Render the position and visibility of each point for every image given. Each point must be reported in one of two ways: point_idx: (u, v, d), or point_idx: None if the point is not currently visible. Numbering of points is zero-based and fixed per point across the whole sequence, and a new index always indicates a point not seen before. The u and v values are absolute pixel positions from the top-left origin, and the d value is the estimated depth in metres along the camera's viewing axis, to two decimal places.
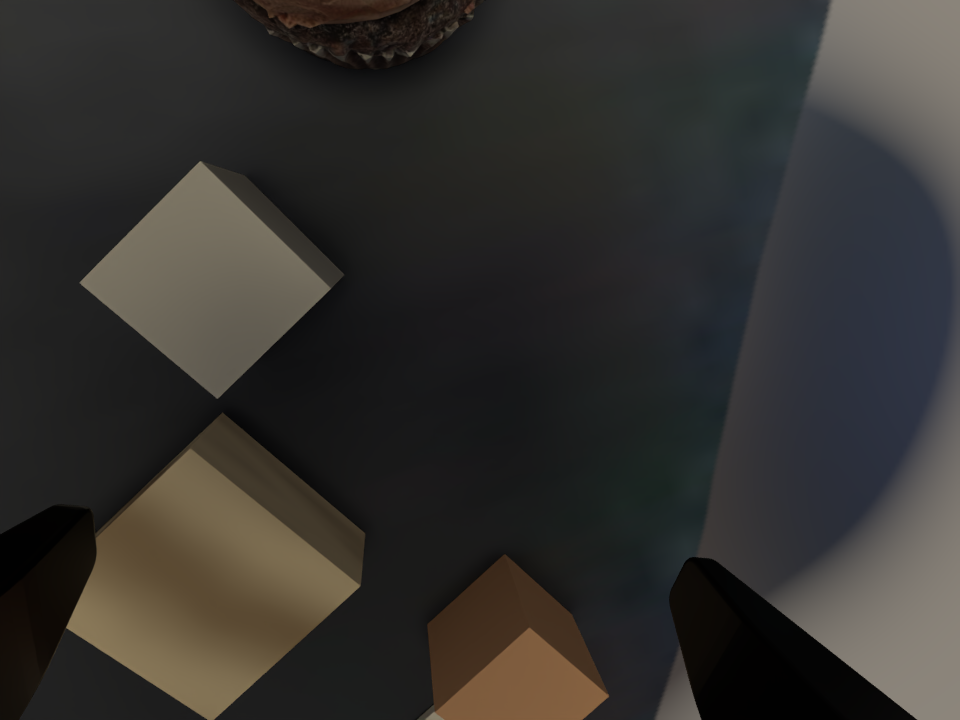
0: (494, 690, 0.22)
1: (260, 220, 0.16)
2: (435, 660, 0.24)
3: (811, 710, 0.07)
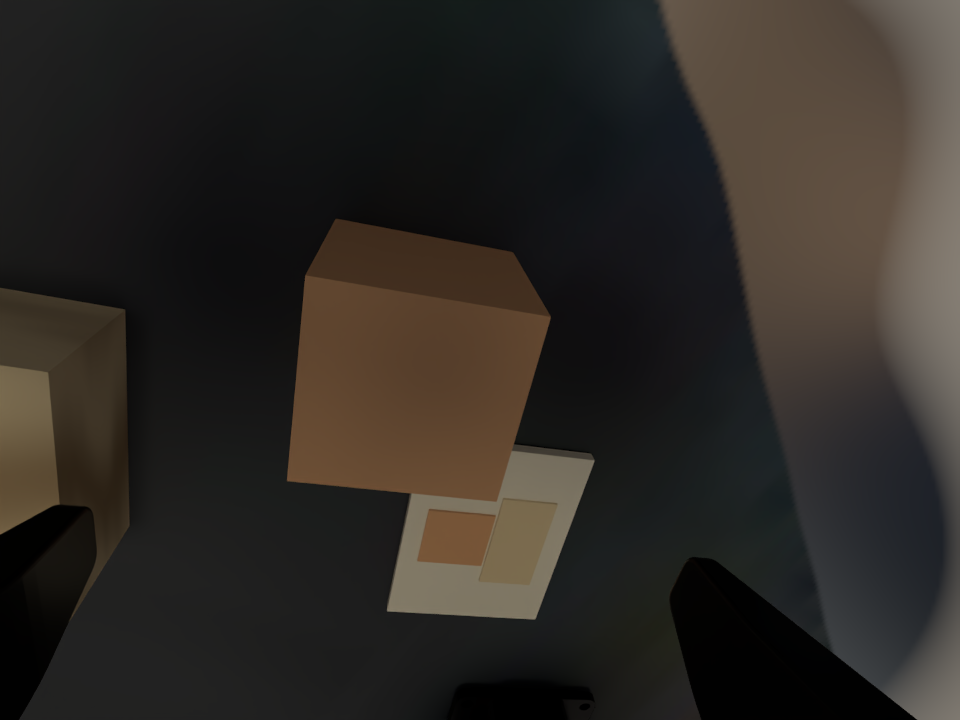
0: (346, 407, 0.12)
1: None
2: None
3: (811, 710, 0.07)
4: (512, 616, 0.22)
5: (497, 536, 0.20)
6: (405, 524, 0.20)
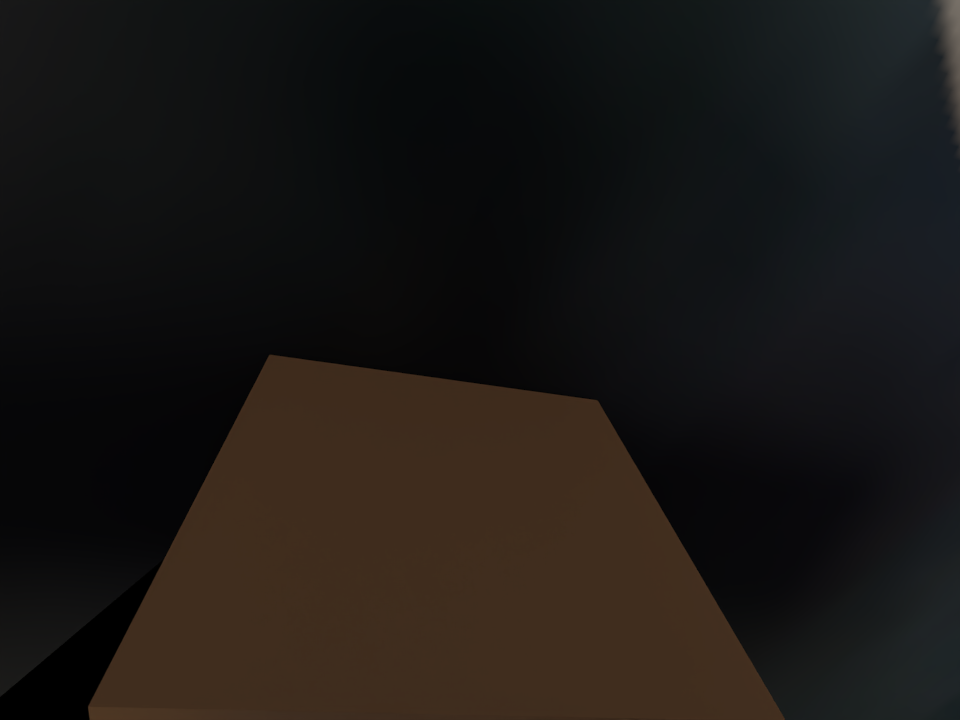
0: None
1: None
2: None
3: None
4: None
5: None
6: None
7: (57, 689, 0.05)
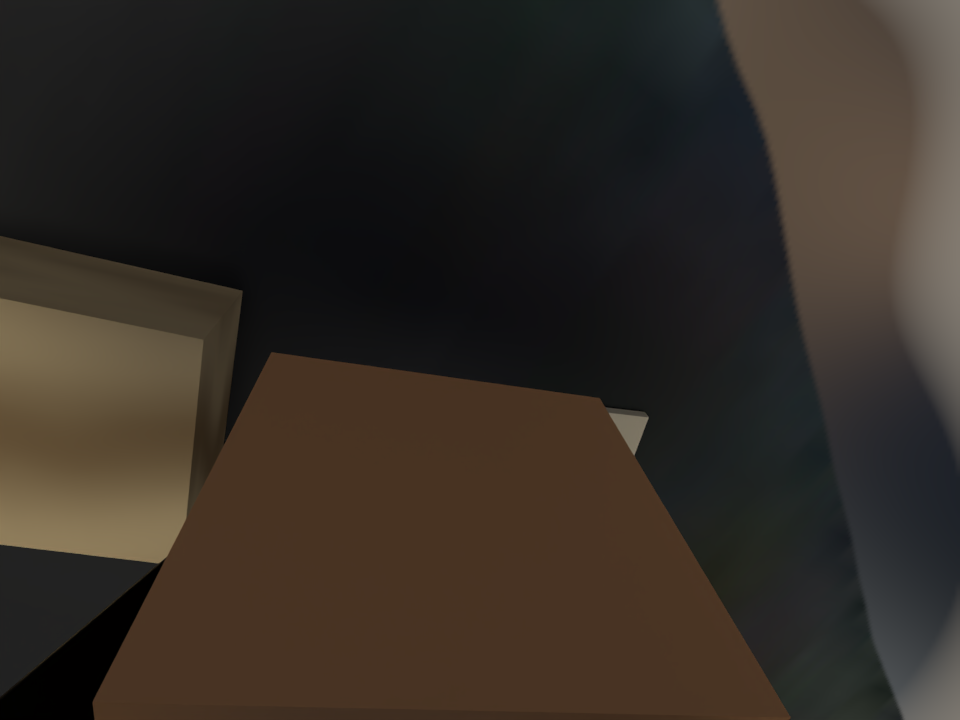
0: None
1: None
2: None
3: None
4: None
5: None
6: None
7: (57, 689, 0.05)
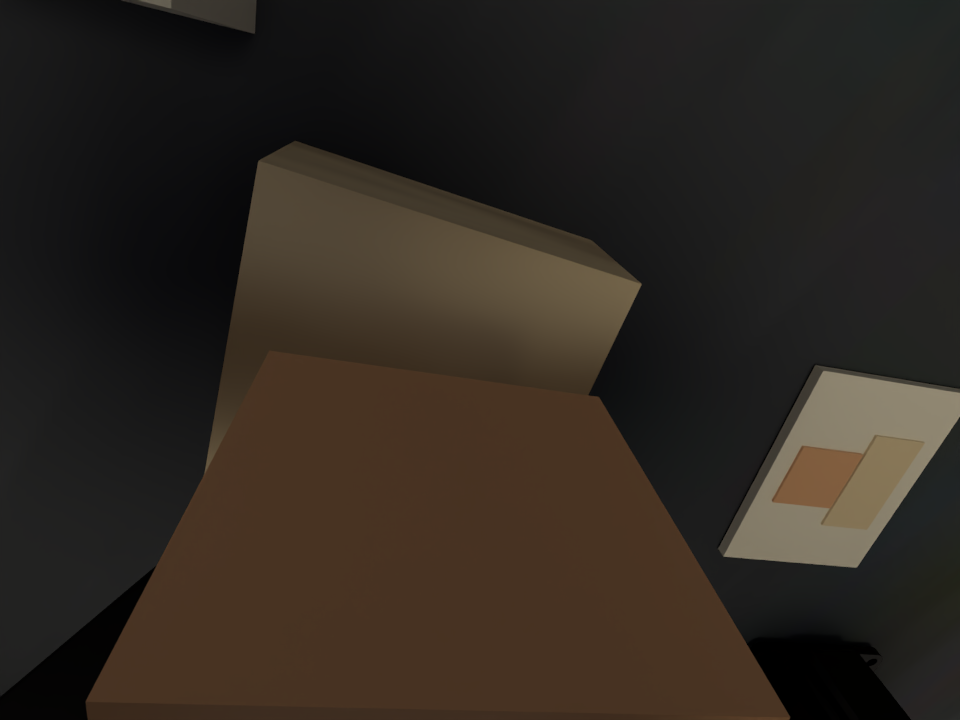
0: None
1: None
2: None
3: None
4: (836, 563, 0.22)
5: (856, 476, 0.20)
6: (772, 462, 0.19)
7: (58, 689, 0.05)
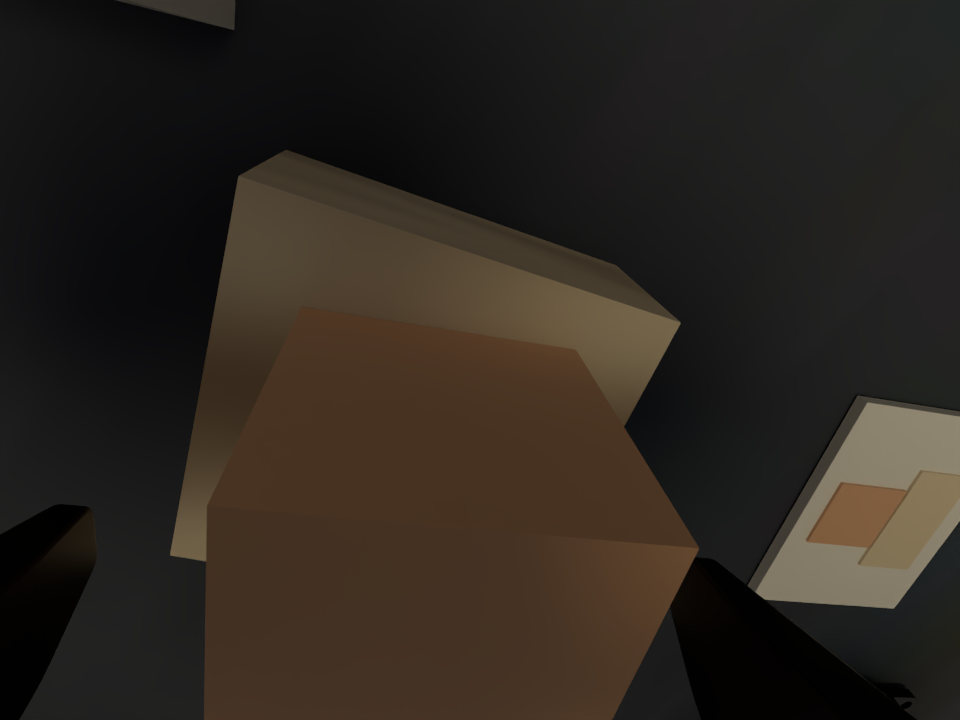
0: (306, 704, 0.06)
1: None
2: None
3: (811, 710, 0.07)
4: (872, 605, 0.20)
5: (898, 514, 0.18)
6: (808, 500, 0.18)
7: None
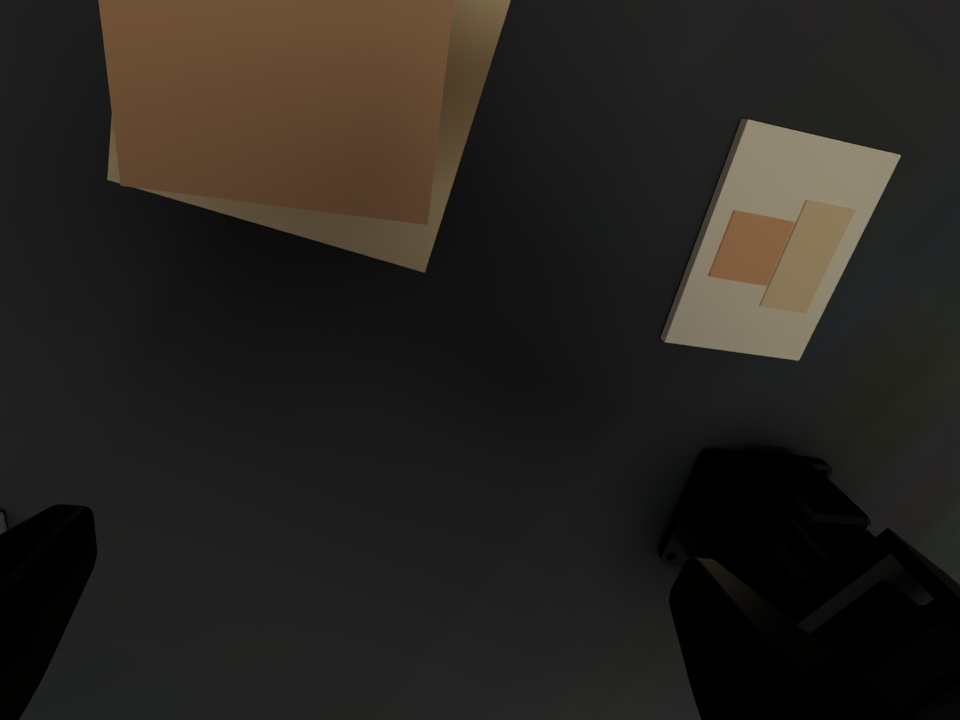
0: (184, 47, 0.08)
1: None
2: None
3: (811, 710, 0.07)
4: (778, 355, 0.22)
5: (790, 248, 0.20)
6: (705, 230, 0.20)
7: None
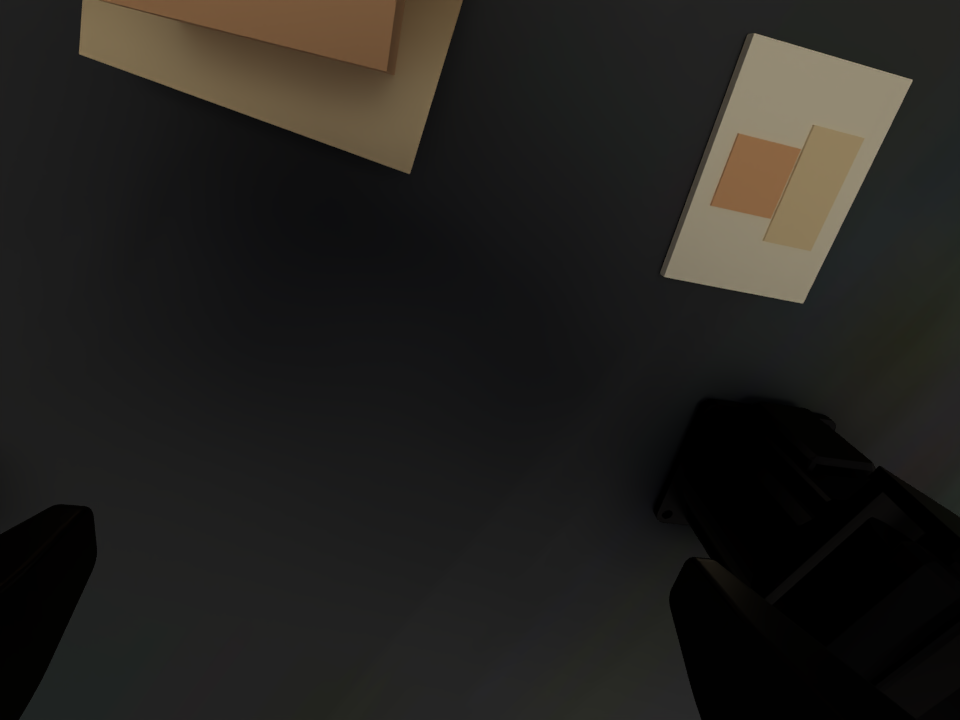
0: None
1: None
2: None
3: (811, 710, 0.07)
4: (781, 296, 0.22)
5: (796, 177, 0.19)
6: (708, 155, 0.19)
7: None
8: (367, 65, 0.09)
